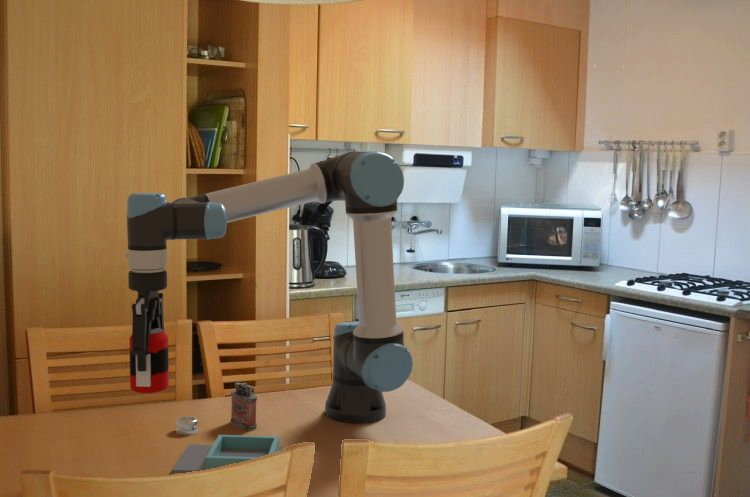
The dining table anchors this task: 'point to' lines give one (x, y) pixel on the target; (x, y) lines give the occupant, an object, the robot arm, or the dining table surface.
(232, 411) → the lighter
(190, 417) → the grooved metal pulley
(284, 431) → the dining table surface
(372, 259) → the robot arm
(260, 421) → the dining table surface
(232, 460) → the dock
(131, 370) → the soda can
